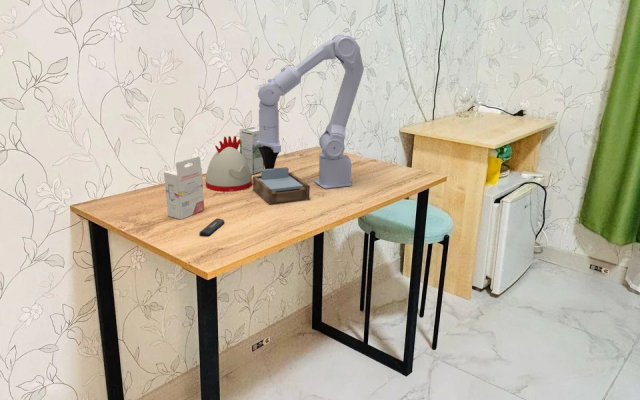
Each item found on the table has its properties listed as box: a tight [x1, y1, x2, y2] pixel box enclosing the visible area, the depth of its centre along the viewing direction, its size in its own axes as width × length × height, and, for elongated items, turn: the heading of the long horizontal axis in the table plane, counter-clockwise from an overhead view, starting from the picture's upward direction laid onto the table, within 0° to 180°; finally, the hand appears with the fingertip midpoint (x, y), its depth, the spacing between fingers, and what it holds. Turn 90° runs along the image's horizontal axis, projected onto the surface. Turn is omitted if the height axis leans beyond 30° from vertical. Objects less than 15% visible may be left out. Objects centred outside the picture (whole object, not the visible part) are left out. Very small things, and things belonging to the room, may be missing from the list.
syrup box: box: [239, 126, 265, 176], centre depth 170 cm, size 6×6×14 cm
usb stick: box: [199, 218, 225, 238], centre depth 124 cm, size 10×3×2 cm, turn 166°
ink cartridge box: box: [163, 155, 205, 220], centre depth 132 cm, size 9×5×15 cm, turn 148°
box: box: [252, 172, 311, 206], centre depth 149 cm, size 14×12×4 cm
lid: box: [259, 166, 303, 192], centre depth 148 cm, size 11×10×4 cm
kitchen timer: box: [205, 135, 253, 193], centre depth 156 cm, size 14×14×15 cm
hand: (269, 170), depth 156 cm, fingers closed
